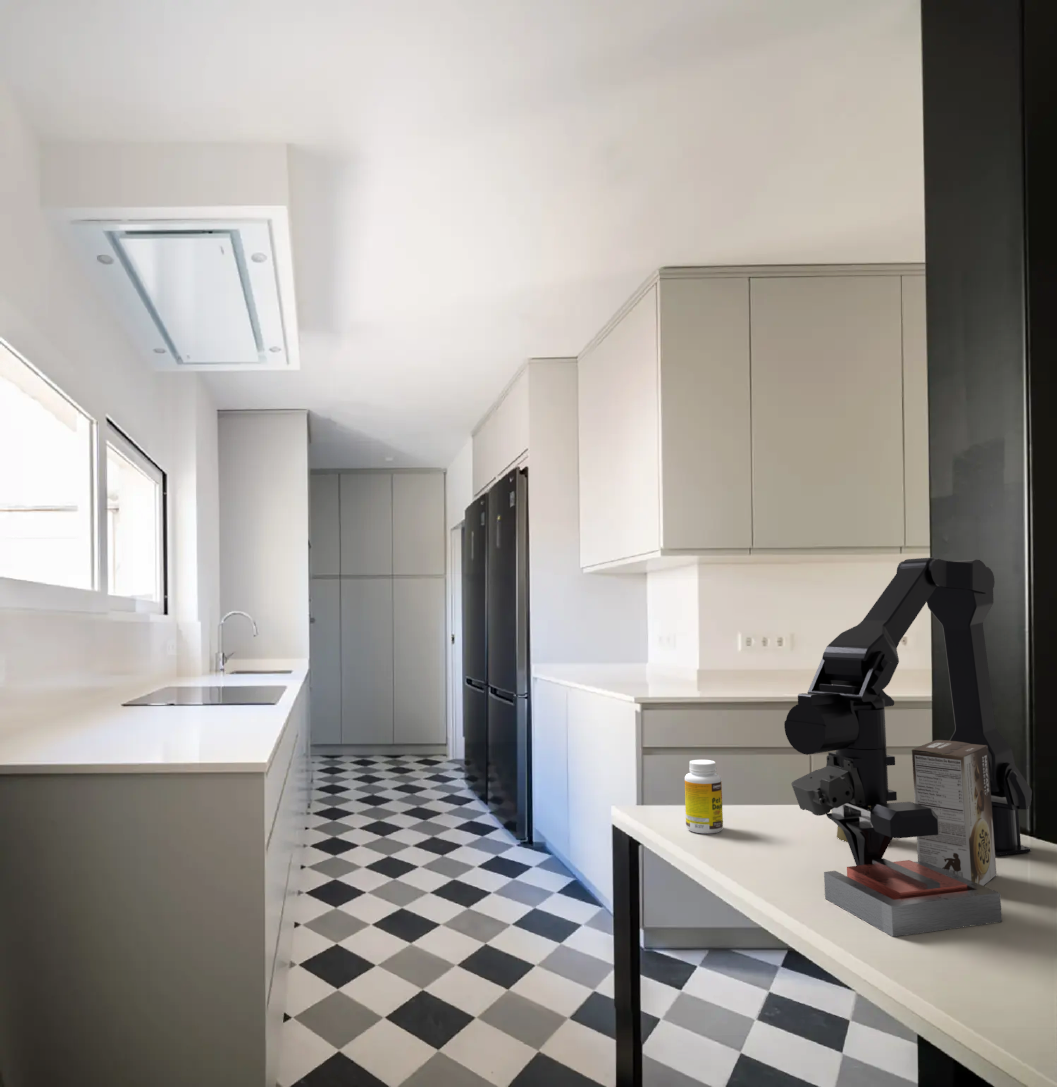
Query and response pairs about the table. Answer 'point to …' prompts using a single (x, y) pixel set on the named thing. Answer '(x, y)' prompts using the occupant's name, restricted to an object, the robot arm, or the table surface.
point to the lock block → (903, 879)
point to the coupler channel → (915, 905)
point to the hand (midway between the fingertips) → (866, 878)
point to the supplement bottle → (703, 798)
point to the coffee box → (956, 808)
